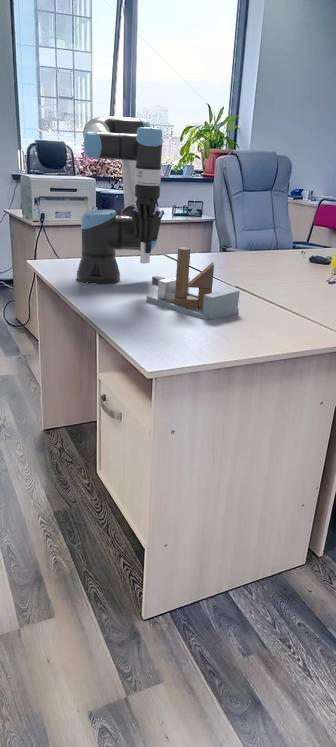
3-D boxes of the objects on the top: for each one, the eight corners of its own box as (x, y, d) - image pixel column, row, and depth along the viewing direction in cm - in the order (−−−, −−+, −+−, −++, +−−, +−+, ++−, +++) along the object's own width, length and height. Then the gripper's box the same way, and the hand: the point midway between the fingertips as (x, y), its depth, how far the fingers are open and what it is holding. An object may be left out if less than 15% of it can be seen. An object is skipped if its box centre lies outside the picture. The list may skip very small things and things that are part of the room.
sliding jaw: (141, 297, 167) (142, 275, 165) (166, 292, 174) (167, 270, 172) (164, 305, 161) (165, 282, 158) (188, 299, 168) (190, 277, 165)
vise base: (146, 302, 164) (147, 278, 161) (178, 295, 173) (179, 272, 170) (207, 324, 148) (209, 298, 145) (238, 315, 158) (241, 290, 154)
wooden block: (210, 312, 159) (215, 251, 151) (173, 310, 158) (177, 249, 151) (208, 308, 162) (214, 248, 154) (173, 306, 162) (177, 246, 154)
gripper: (123, 182, 162) (122, 260, 172) (153, 186, 154) (150, 268, 163) (142, 181, 167) (139, 257, 177) (172, 186, 159) (167, 265, 168)
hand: (144, 262), depth 170 cm, fingers closed
